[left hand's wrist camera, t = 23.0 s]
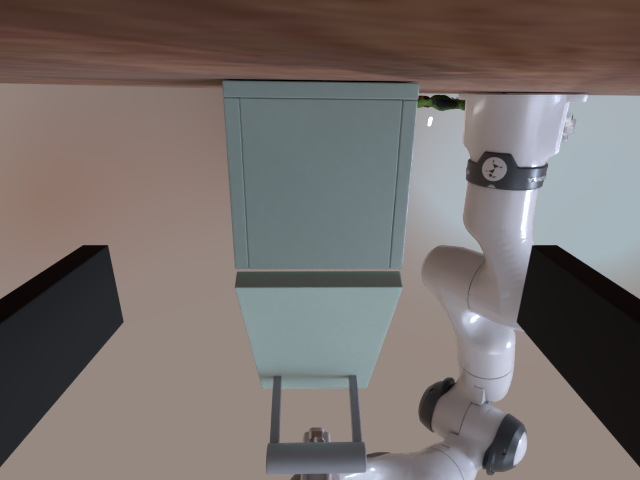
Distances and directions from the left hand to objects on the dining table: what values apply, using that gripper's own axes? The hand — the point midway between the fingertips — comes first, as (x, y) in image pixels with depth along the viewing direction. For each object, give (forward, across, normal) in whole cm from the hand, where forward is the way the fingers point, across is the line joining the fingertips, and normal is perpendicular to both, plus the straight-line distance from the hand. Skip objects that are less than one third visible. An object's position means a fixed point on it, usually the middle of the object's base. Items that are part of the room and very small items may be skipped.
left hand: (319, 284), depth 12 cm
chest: (+18, 0, -6) cm, 19 cm away
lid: (+15, 0, +12) cm, 19 cm away
